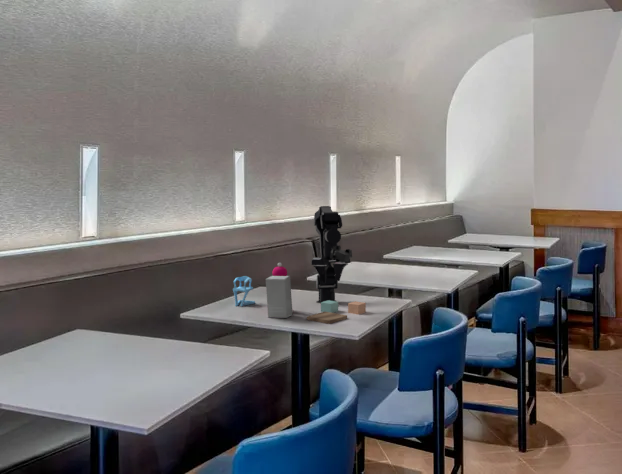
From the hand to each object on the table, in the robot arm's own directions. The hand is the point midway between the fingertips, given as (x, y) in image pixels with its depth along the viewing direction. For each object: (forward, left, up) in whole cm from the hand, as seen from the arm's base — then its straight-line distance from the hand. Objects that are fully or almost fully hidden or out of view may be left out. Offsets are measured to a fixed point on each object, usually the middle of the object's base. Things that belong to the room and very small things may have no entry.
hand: (331, 281), depth 242 cm
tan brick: (+9, +5, -12) cm, 16 cm away
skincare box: (-11, -19, -12) cm, 25 cm away
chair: (-39, -12, -12) cm, 43 cm away
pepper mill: (-17, -12, -12) cm, 24 cm away
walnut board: (+7, -11, -12) cm, 18 cm away
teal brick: (-1, 0, -12) cm, 12 cm away
